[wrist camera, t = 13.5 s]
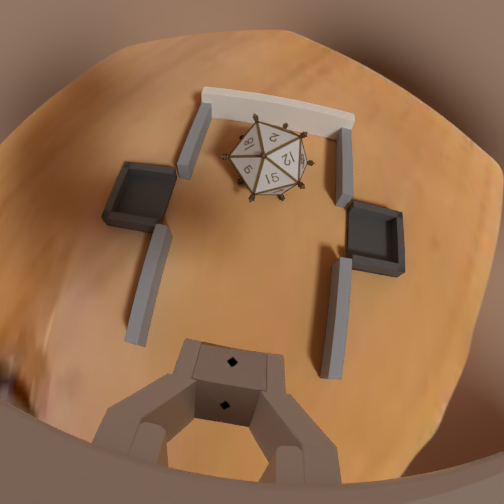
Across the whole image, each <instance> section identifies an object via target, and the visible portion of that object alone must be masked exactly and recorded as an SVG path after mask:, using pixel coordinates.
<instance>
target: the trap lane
mask: <svg viewBox="0 0 504 504" xmlns="http://www.w3.org/2000/svg"><path fill="white" fill-rule="evenodd" d="M201 96H202V103H201V106H200V108H199V110H198V113H197V115H196V117H195V120H194V122H193V124H192V127H191V129H190V132H189V134H188V137H187V139H186V142H185V144H184V147H183V149H182V152H181V154H180V157H179V160H178V162H177V167H178V172H179V177H180V178H184V179H190V178H191V175H192V172H193V169H194V166H195V164H196V161H197V158H198V155H199V152H200V149H201V146H202V143H203V141H204V138H205V135H206V132H207V130H208V127H209V124H210V121H211V119H212V118H219V119H227V120H234V121H241V122H247V123H255V121H254V120H253V118H252V117H253V114H254V113H255V114H256V115H258V118H259V119H258V121H260V122H264V123H268V124H272V125H275V126H279V127H283V124H285V123H287V124H288V127H287V128H286V129H287V130H292V131H297V132H303V131H304V132H308V133H307V134H311V135H316V136H320V137H325V138H329V139H333V140H336V199H335V206H339V207H343V208H346V206H347V205H348V203H349V202H350V200H351V199H352V197H353V159H352V137H351V129H352V127H353V124H354V122H355V117H354V114H352V113H349V112H345V111H341V110H337V109H333V108H329V107H325V106H321V105H317V104H312V103H308V102H303V101H298V100H293V99H288V98H283V97H277V96H272V95H266V94H260V93H253V92H246V91H239V90H231V89H223V88H214V87H204V89H203V91H202V93H201ZM176 180H177V174H176V170H175V168H173V167H165V166H157V165H148V164H139V163H130V162H125V163H124V165H123V167H122V169H121V171H120V174H119V176H118V178H117V180H116V183H115V185H114V187H113V190H112V192H111V194H110V197H109V199H108V202H107V204H106V207H105V209H104V212H103V214H102V219H103V220H104V222H105V223H106V224H107V225H109V226H115V227H120V228H126V229H131V230H137V231H142V232H148V233H153V235H152V238H151V242H150V245H149V248H148V251H147V255H146V258H145V262H144V265H143V269H142V272H141V276H140V280H139V283H138V287H137V291H136V295H135V299H134V302H133V306H132V311H131V315H130V319H129V323H128V327H127V332H126V336H125V341H126V342H129V343H132V344H136V345H140V346H143V347H145V345H146V340H147V336H148V331H149V327H150V322H151V318H152V314H153V309H154V305H155V301H156V297H157V293H158V289H159V285H160V281H161V277H162V273H163V270H164V266H165V262H166V258H167V255H168V251H169V248H170V244H171V240H172V234H171V232H170V229H169V227H168V226H167V225H162V221H163V218H164V215H165V212H166V209H167V206H168V203H169V200H170V197H171V194H172V191H173V188H174V185H175V182H176ZM352 269H353V270H358V271H364V272H369V273H375V274H380V275H386V276H391V277H398V276H400V275H402V274H403V273H405V248H404V229H403V215H402V212H399V211H395V210H391V209H387V208H383V207H379V206H375V205H371V204H367V203H363V202H359V201H355V200H353V202H352V203H351V205H350V206H349V208H348V233H347V258H344V257H340V258H339V259H338V260H337V261H336V262H335V263H334V264H333V265H332V272H331V285H330V296H329V306H328V316H327V325H326V334H325V342H324V350H323V358H322V365H321V373H320V378H324V379H337V380H341V379H342V371H343V364H344V355H345V347H346V337H347V327H348V316H349V304H350V290H351V273H352Z"/></svg>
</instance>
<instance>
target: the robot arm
mask: <svg viewBox="0 0 504 504" xmlns="http://www.w3.org/2000/svg"><path fill="white" fill-rule="evenodd" d="M194 418H198V419H204V420H210V421H217V422H223V423H228V424H234V425H240V426H246V427H249V429H250V431H251V433H252V434H253V436H254V438H255V440H256V441H257V443H258V445H259V447H260V448H261V450H262V452H263V453H264V455H265V457H266V458H267V460H268V462H269V464H268V466H267V468H266V470H265V471H264V473H263V475H262V477H261V478H260V480H259V482H253V481H244V480H236V479H228V478H221V477H215V476H209V475H203V474H198V473H192V472H188V471H183V470H178V469H174V468H170V467H168V456H167V442H169V441H170V440H171V439H172V438H173V437H174V436H175V435H177V434H178V433H179V432H180V431H181V430H182V429H183V428H185V427H186V426H187V425H188V424H189V423H190V422H191V421H192V420H193V419H194ZM0 504H504V451H503V452H501V453H498V454H495V455H492V456H489V457H486V458H483V459H480V460H477V461H473V462H470V463H467V464H463V465H459V466H455V467H452V468H448V469H443V470H440V471H435V472H430V473H425V474H420V475H415V476H409V477H403V478H396V479H389V480H381V481H372V482H361V483H346V484H342V482H341V475H340V467H339V460H338V453H337V447H336V446H335V445H334V444H333V442H332V441H331V440H330V439H329V438H328V437H327V436H326V435H325V434H324V432H323V431H322V430H321V429H320V428H319V427H318V426H317V425H316V423H315V422H314V421H313V420H312V419H311V418H310V417H309V415H308V414H307V413H306V412H305V411H304V410H303V409H302V407H301V406H300V405H299V404H298V403H297V402H296V400H295V399H294V398H293V397H292V396H291V395H290V394H286V391H285V370H284V357H283V355H280V354H272V353H262V352H255V351H249V350H243V349H236V348H231V347H226V346H221V345H216V344H212V343H207V342H201V341H197V340H192V339H188V338H186V339H185V341H184V343H183V346H182V349H181V351H180V354H179V357H178V360H177V363H176V365H175V368H174V371H173V374H168V373H167V374H166V375H164V376H163V377H161V378H159V379H158V380H156V381H154V382H153V383H151V384H149V385H148V386H146V387H144V388H143V389H141V390H139V391H137V392H136V393H134V394H132V395H131V396H129V397H127V398H125V399H124V400H122V401H120V402H119V403H117V404H115V405H113V406H111V407H110V408H108V409H107V411H106V414H105V416H104V418H103V420H102V422H101V424H100V426H99V428H98V430H97V433H96V435H95V437H94V439H93V441H92V443H90V442H87V441H85V440H82V439H80V438H77V437H75V436H73V435H70V434H68V433H66V432H64V431H61V430H59V429H57V428H55V427H53V426H51V425H49V424H47V423H45V422H42V421H41V420H39V419H37V418H35V417H33V416H31V415H29V414H27V413H25V412H23V411H22V410H20V409H18V408H16V407H15V406H13V405H11V404H9V403H8V402H6V401H4V400H3V399H1V398H0Z"/></svg>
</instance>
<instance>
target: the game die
mask: <svg viewBox="0 0 504 504" xmlns="http://www.w3.org/2000/svg"><path fill="white" fill-rule="evenodd" d="M252 118H253V120H254V121H255V123H254V124H253V125H252V127H251V128H250V129H249V130H248V132H247V133H246V134H245V135H244V136H243V135H242V136H240V142H239V143H238V144H237V145H236V147H235V148H234V149H233V150H232V152H231V153H230V154H229V155H227V154H223V155H221V156H219V157H221V158H222V159H223V160H224V159H225V160H226V159H229V160H230V162H231V163H232V165H233V166H234V168H235V170H236V171H237V173H238V174H239V176H240V178H241V179H239V180H238V183H237V184H241V183H243V182H244V183H245V185H246V186H247V188H248V189H249V190H250V192H251V193H252V195H250V197H249V201H250V202H252V201H254V198H255V195H280V196H279V198H280V200H282V201H284V199H285V198H284V195H283V193H285V192H286V191H288V190H289V189H291V188H292V187H294V186H296V185H298V186H299V187H300V189H301V188H303V189H305V186H304V184H303V183H302V182H300V180H301V177H302V175H303V173H304V170H305V168H306V165H307V164H308V165H311V166H312V165H313V164H315V163H314V162H313V161H310V160H309V161H307V158H306V154H305V150H304V146H303V142H302V138H305V137H307V133H308V132H304V131H303V132H302V133H301V135H298V134H296V133H294V132H292V131H289V130H287V129H286V128H287V127H288V124H287V123H285V124H283V127H279V126H275V125H272V124H268V123H264V122H260V121H258V119H259V118H258V115H256V114H255V113H254V114H253V117H252Z"/></svg>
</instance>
